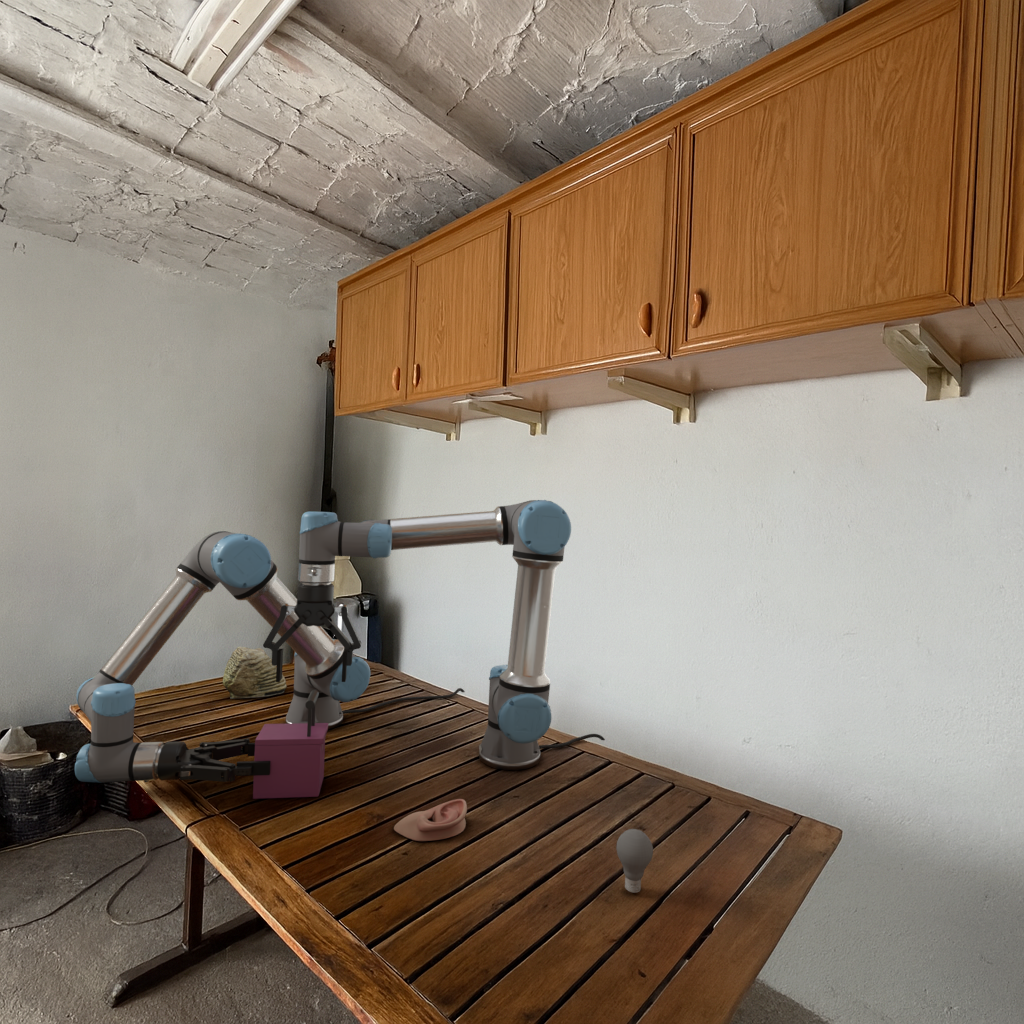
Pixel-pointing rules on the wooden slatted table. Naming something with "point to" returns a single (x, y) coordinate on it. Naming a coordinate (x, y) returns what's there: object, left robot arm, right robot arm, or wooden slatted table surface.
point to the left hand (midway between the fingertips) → (274, 757)
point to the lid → (295, 729)
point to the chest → (290, 771)
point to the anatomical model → (434, 822)
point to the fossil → (251, 674)
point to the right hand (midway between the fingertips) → (311, 680)
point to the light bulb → (634, 857)
